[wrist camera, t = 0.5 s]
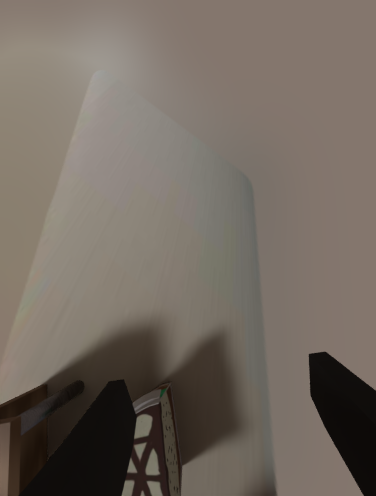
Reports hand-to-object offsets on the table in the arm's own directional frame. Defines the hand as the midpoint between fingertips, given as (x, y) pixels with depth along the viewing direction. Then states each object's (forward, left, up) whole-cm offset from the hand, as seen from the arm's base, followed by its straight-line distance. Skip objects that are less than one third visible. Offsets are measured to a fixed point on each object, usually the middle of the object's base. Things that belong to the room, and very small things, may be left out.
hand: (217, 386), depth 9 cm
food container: (-10, +8, -24) cm, 27 cm away
